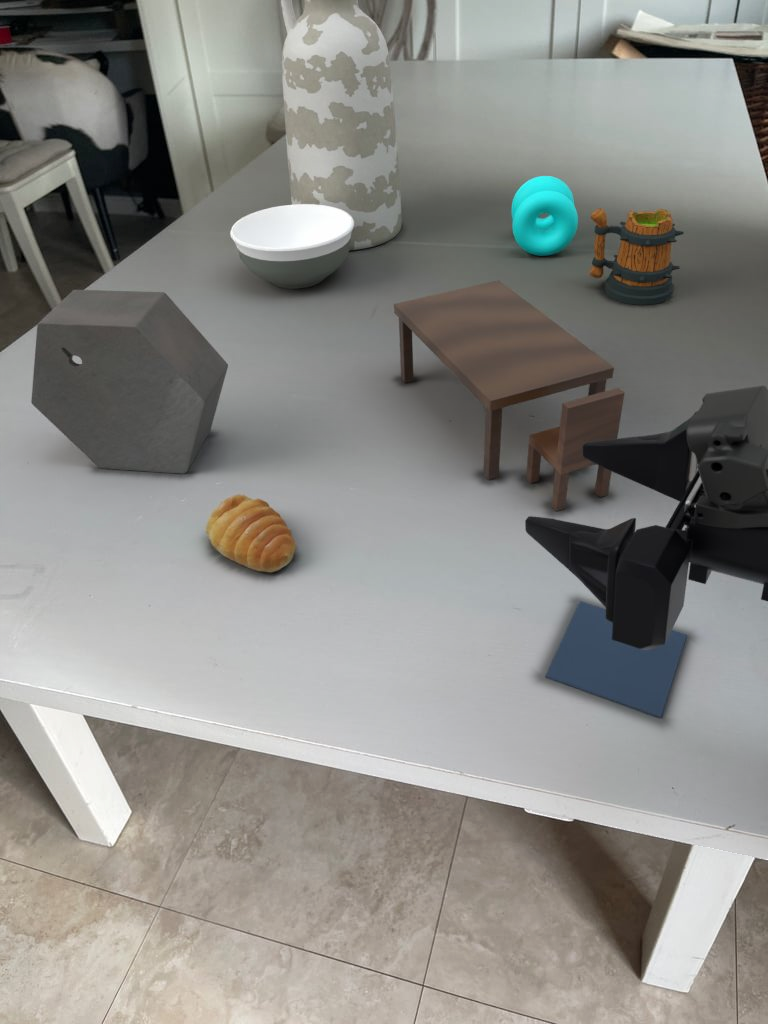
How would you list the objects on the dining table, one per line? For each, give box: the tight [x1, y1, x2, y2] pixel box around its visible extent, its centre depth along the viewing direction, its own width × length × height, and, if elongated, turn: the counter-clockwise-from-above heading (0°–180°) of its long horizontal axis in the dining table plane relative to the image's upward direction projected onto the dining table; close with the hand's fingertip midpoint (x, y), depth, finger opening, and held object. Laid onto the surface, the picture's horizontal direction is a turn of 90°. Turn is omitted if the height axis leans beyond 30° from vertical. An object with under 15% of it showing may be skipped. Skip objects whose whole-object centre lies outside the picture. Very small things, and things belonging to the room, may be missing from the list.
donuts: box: [510, 175, 579, 257], centre depth 128 cm, size 10×10×10 cm
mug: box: [588, 207, 684, 306], centre depth 113 cm, size 13×10×12 cm
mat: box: [545, 601, 688, 719], centre depth 65 cm, size 9×9×1 cm
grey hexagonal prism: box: [30, 289, 229, 475], centre depth 86 cm, size 17×8×21 cm
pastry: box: [205, 494, 298, 573], centre depth 76 cm, size 9×7×4 cm
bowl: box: [229, 204, 354, 290], centre depth 124 cm, size 19×19×8 cm
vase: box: [280, 0, 403, 251], centre depth 129 cm, size 20×19×38 cm
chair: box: [525, 387, 625, 512], centre depth 79 cm, size 6×6×12 cm
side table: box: [393, 279, 615, 481], centre depth 91 cm, size 24×14×10 cm, turn 22°
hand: (556, 484), depth 53 cm, fingers open, 9 cm apart
